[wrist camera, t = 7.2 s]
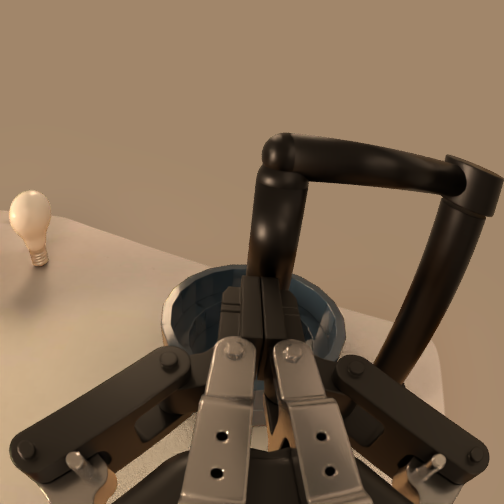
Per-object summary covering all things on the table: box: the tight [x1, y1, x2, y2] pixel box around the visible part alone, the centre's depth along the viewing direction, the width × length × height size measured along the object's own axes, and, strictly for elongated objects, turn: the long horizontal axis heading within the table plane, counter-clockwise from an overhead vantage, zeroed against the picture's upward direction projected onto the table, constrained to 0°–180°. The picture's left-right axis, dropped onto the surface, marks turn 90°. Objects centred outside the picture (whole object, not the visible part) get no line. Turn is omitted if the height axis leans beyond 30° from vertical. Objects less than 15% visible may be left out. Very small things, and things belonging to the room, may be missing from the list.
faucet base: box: [373, 198, 486, 388], centre depth 19 cm, size 6×6×18 cm
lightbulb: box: [9, 190, 51, 266], centre depth 33 cm, size 6×6×11 cm
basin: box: [161, 265, 346, 427], centre depth 25 cm, size 15×15×6 cm
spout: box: [246, 133, 504, 291], centre depth 14 cm, size 15×4×8 cm, turn 104°
